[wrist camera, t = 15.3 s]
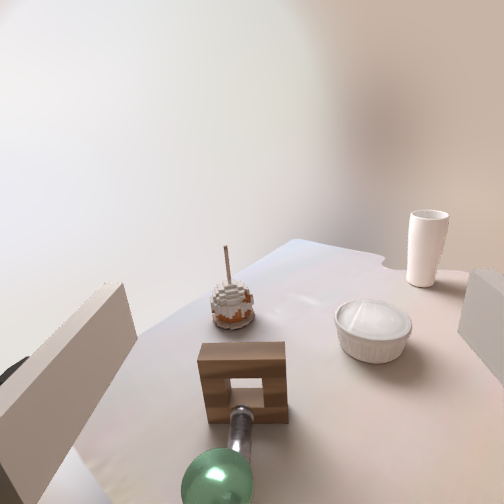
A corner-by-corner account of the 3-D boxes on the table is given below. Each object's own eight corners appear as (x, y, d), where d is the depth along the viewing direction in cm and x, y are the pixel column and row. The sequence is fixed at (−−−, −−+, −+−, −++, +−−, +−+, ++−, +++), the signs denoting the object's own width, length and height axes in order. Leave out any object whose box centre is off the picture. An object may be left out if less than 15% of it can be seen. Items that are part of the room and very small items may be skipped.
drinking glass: (424, 273, 72) (433, 207, 66) (445, 287, 65) (458, 216, 60) (395, 277, 71) (403, 211, 65) (415, 292, 65) (425, 221, 59)
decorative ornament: (258, 327, 58) (252, 250, 52) (215, 335, 57) (204, 257, 51) (249, 304, 65) (243, 235, 59) (211, 311, 64) (201, 241, 58)
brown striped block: (288, 423, 39) (285, 359, 36) (208, 423, 40) (197, 360, 36) (287, 403, 42) (284, 341, 38) (212, 403, 43) (202, 343, 39)
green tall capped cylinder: (262, 621, 24) (249, 524, 19) (199, 617, 24) (171, 521, 20) (266, 436, 38) (260, 353, 33) (226, 436, 38) (214, 354, 33)
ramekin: (326, 326, 57) (326, 301, 55) (389, 321, 57) (391, 295, 55) (345, 373, 46) (346, 343, 44) (422, 366, 46) (427, 337, 44)
